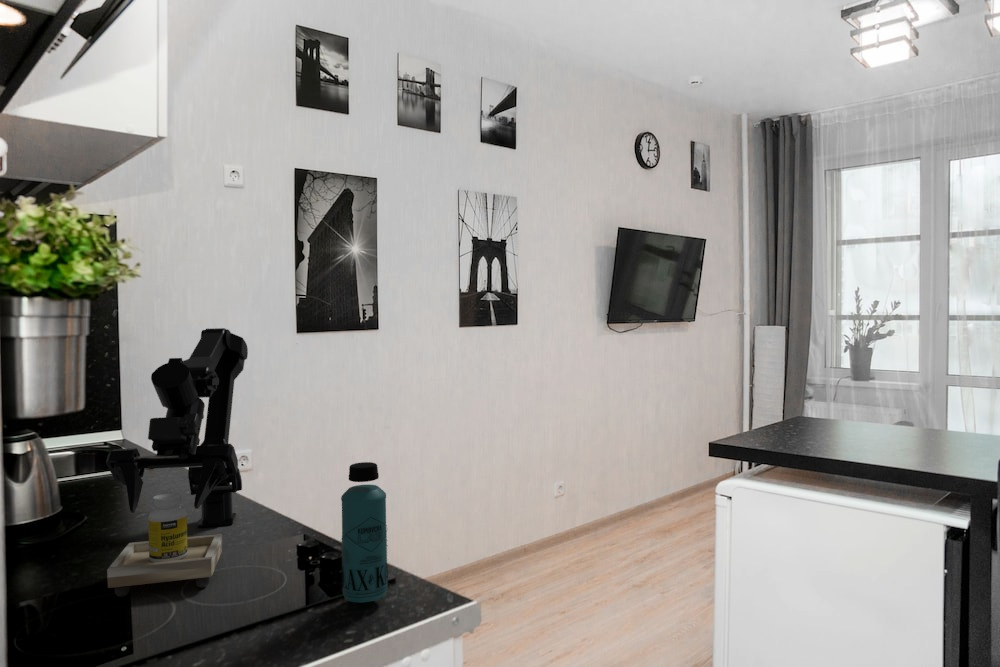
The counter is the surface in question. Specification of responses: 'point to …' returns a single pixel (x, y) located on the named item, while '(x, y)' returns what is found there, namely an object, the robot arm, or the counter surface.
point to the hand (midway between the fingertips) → (164, 509)
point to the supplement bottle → (167, 528)
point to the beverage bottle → (364, 537)
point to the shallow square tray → (165, 564)
